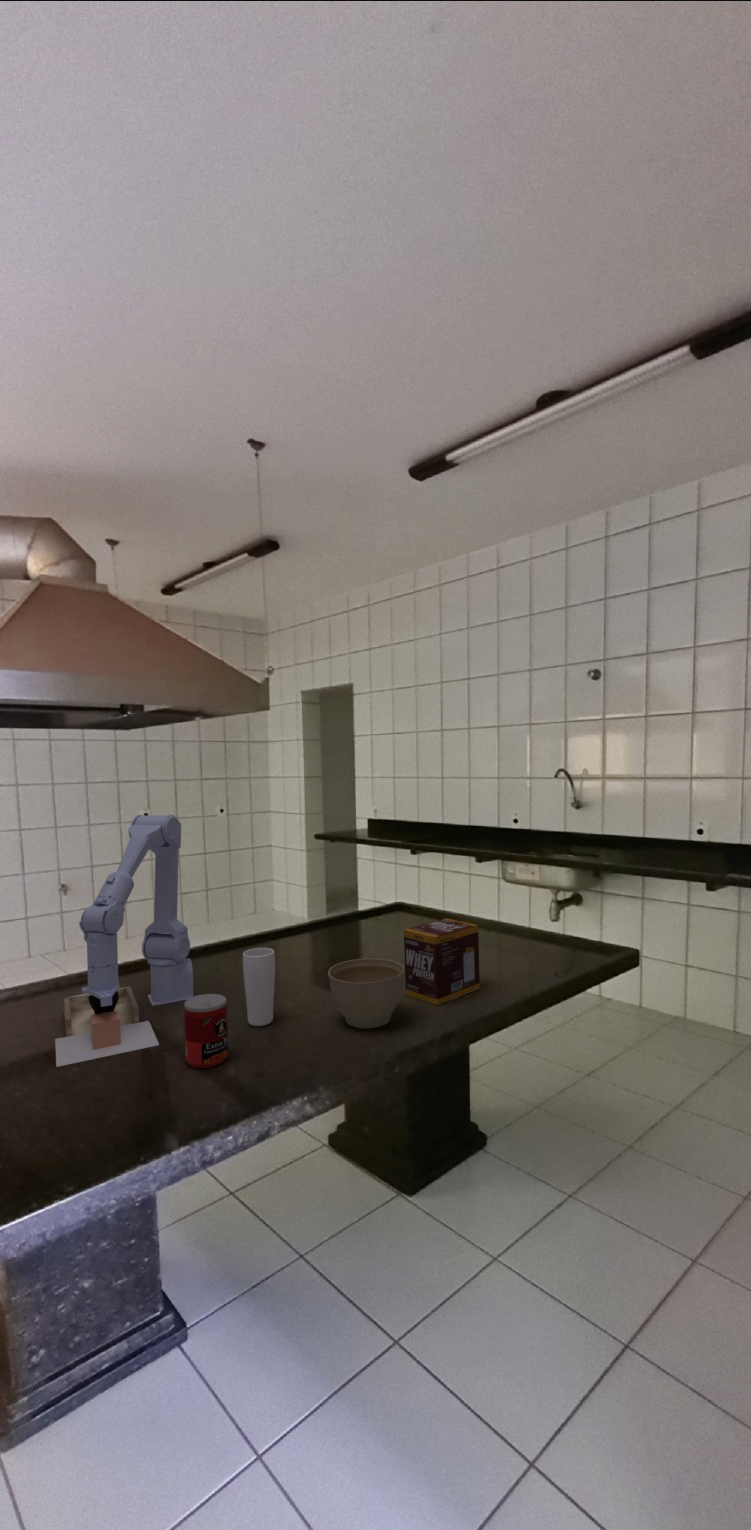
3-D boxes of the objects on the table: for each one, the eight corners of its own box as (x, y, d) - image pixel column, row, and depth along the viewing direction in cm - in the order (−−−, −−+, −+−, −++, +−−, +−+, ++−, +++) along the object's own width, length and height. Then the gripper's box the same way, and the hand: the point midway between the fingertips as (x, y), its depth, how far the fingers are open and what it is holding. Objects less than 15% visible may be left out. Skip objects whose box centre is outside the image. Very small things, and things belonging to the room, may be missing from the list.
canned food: (206, 1073, 115) (205, 1011, 115) (176, 1063, 119) (174, 1003, 119) (237, 1056, 121) (235, 997, 121) (207, 1047, 125) (205, 991, 125)
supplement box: (404, 995, 151) (402, 929, 151) (448, 979, 161) (446, 917, 161) (437, 1007, 143) (435, 937, 143) (480, 989, 154) (479, 924, 154)
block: (118, 1035, 131) (117, 1010, 131) (120, 1044, 126) (120, 1018, 126) (91, 1040, 129) (90, 1015, 129) (93, 1050, 124) (92, 1024, 124)
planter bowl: (355, 1002, 147) (353, 954, 147) (418, 1014, 139) (417, 963, 139) (314, 1027, 133) (312, 975, 134) (382, 1042, 125) (380, 986, 125)
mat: (148, 1023, 138) (148, 1020, 138) (159, 1048, 126) (159, 1045, 126) (55, 1042, 130) (55, 1039, 130) (56, 1070, 117) (56, 1067, 117)
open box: (130, 1003, 150) (130, 986, 150) (139, 1025, 137) (138, 1006, 137) (64, 1015, 144) (63, 997, 144) (66, 1039, 131) (65, 1020, 131)
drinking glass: (249, 1031, 132) (247, 958, 132) (240, 1020, 138) (238, 950, 139) (281, 1024, 136) (279, 953, 136) (270, 1014, 142) (269, 945, 142)
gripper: (79, 958, 136) (81, 1022, 136) (83, 977, 123) (85, 1048, 123) (115, 953, 139) (116, 1015, 139) (122, 971, 126) (124, 1040, 126)
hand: (104, 1030), depth 131 cm, fingers closed
